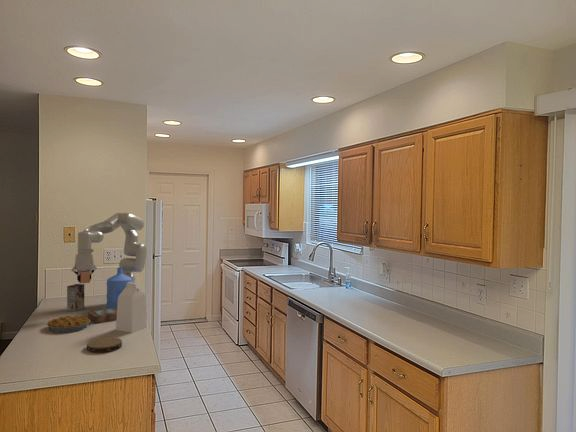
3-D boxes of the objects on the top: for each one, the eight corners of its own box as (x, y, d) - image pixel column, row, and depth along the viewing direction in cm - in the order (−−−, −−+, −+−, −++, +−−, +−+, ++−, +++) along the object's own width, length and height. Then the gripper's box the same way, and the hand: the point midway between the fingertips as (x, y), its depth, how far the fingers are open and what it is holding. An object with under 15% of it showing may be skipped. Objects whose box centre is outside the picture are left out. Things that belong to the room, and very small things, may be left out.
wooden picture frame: (114, 314, 278) (114, 307, 278) (122, 319, 267) (122, 312, 267) (87, 318, 268) (87, 311, 268) (94, 323, 257) (95, 315, 257)
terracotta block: (87, 281, 274) (87, 270, 274) (89, 282, 270) (89, 271, 270) (78, 282, 271) (78, 271, 271) (80, 283, 267) (80, 272, 267)
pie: (96, 328, 249) (96, 319, 249) (55, 336, 233) (55, 326, 232) (80, 320, 264) (80, 312, 263) (41, 327, 247) (41, 318, 247)
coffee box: (76, 307, 294) (76, 283, 293) (84, 308, 292) (84, 284, 292) (66, 310, 285) (66, 286, 284) (75, 311, 283) (75, 286, 283)
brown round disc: (107, 341, 227) (108, 335, 227) (128, 346, 219) (128, 340, 219) (79, 349, 213) (79, 343, 213) (100, 356, 205) (100, 349, 205)
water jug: (100, 311, 285) (101, 268, 284) (118, 306, 299) (119, 265, 298) (119, 314, 279) (120, 270, 278) (136, 309, 293) (137, 267, 292)
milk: (146, 327, 251) (147, 282, 251) (131, 332, 241) (132, 285, 240) (131, 324, 256) (131, 280, 256) (115, 329, 246) (116, 283, 245)
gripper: (97, 250, 278) (97, 279, 279) (67, 251, 267) (67, 281, 268) (100, 251, 272) (100, 280, 273) (70, 253, 261) (70, 283, 262)
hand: (84, 280), depth 270 cm, fingers closed on terracotta block, 5 cm apart
